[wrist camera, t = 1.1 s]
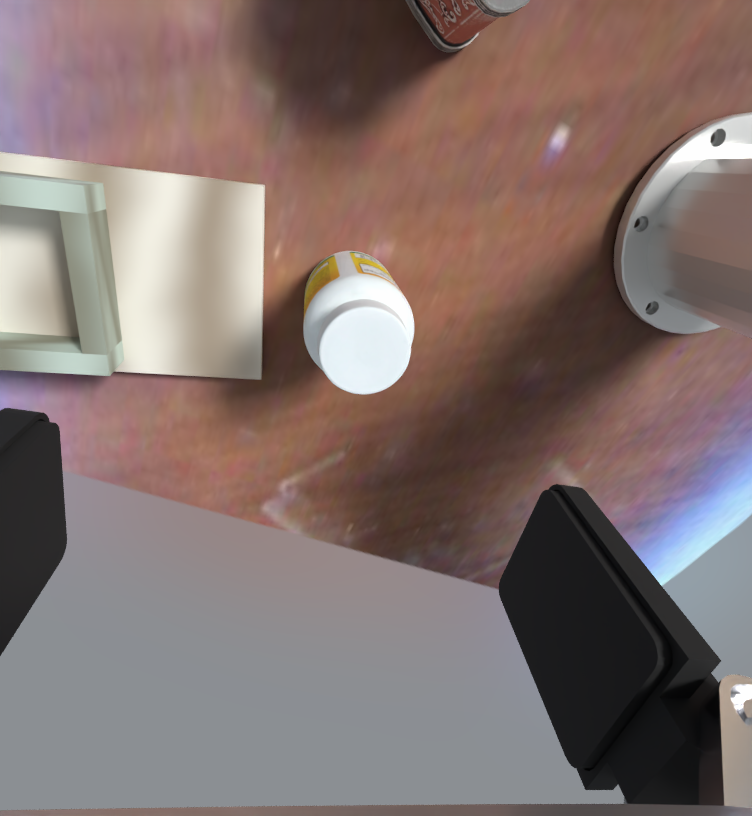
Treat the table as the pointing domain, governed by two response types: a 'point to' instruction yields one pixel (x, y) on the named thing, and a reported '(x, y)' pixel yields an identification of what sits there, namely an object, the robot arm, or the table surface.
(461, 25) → the lighter
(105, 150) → the table surface
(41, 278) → the bottle caddy
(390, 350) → the supplement bottle
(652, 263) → the robot arm
